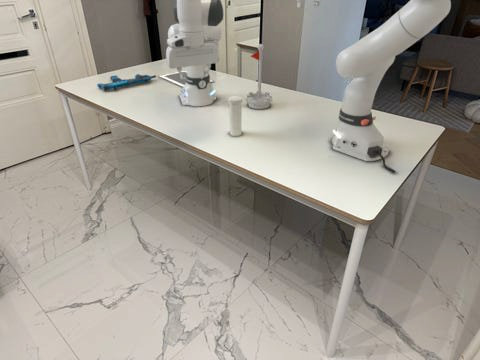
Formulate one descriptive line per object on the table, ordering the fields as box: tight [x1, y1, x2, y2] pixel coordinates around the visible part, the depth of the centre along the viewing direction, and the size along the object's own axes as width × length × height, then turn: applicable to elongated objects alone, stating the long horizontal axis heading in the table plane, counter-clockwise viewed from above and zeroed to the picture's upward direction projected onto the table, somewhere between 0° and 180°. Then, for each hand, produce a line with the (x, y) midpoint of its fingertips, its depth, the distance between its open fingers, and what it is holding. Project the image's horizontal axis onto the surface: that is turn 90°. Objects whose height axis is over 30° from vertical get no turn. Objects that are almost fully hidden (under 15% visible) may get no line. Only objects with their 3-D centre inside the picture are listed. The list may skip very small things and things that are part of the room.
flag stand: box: [245, 43, 273, 110], centre depth 168 cm, size 13×13×30 cm
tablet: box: [158, 70, 215, 88], centre depth 214 cm, size 32×20×1 cm, turn 41°
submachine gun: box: [96, 73, 157, 91], centre depth 207 cm, size 34×4×25 cm
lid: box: [227, 95, 243, 104], centre depth 139 cm, size 6×6×2 cm
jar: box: [228, 102, 243, 137], centre depth 143 cm, size 5×5×16 cm
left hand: (194, 77), depth 131 cm, fingers open, 8 cm apart
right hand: (308, 6), depth 134 cm, fingers open, 8 cm apart
